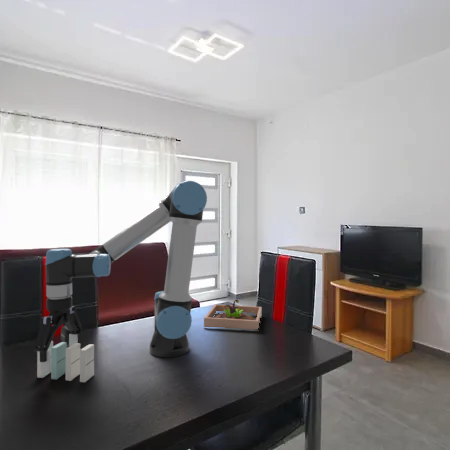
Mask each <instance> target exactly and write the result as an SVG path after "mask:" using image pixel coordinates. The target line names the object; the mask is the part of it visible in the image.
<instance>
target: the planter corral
mask: <svg viewBox="0 0 450 450" xmlns="http://www.w3.org/2000/svg"><path fill="white" fill-rule="evenodd" d="M225 305H226V304H214V305H213V306H212V307H211V308H210V309H209V311H208V312H207V313H206V315H205V316H204V317H203V328H204V327H225V328H243V329H258V328H259V329H260V326H259V323H260V324H261V321H260V318H261V319H262V313H263V312H262V311H263V310H262V308H263V307H262V306H250V305H235V307H239V308H240V310H243V311H242V312H247V313H249V312H250V313H251V312H252V311H253V312H254V313H255V314H257V317H256V318H255V320H242V319H226V318H212V317H213V316H214V315H215V313H216V311H224V310H226V311H228V309H229V310H230V308H229V306H226V308H225V309H223V307H224V306H225ZM230 306H231V307H233V304H231V305H230ZM236 309H238V308H236Z"/></svg>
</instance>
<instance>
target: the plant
mask: <svg viewBox="0 0 450 450" xmlns="http://www.w3.org/2000/svg"><path fill="white" fill-rule="evenodd" d="M236 303H237V304H239V303H240V300H239V299H235V300H234V301H233V304H232V305H233V307H231V306H230V305H229V304H224V305H225V306H224V307H223V309H225V308H226V306H229V308H230V310H229V309H228V311H226V310H224V311H225V312H226V313H223V314H216V315H215V317H212V318H226V319H242V320H256V318H254V316H247V315H245V314H243V313H241V312H242V311H243V310H240V308H239V307H235V304H236ZM236 308H238V309H236Z"/></svg>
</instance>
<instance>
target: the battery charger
mask: <svg viewBox="0 0 450 450" xmlns="http://www.w3.org/2000/svg"><path fill="white" fill-rule="evenodd" d="M69 334H72V333H71V332H70V331H69V330H68V329H67V327H66V326H65V325H64V326H63V325H62V326H61V330H60V340H61V342H67V348H68V347H69Z"/></svg>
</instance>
